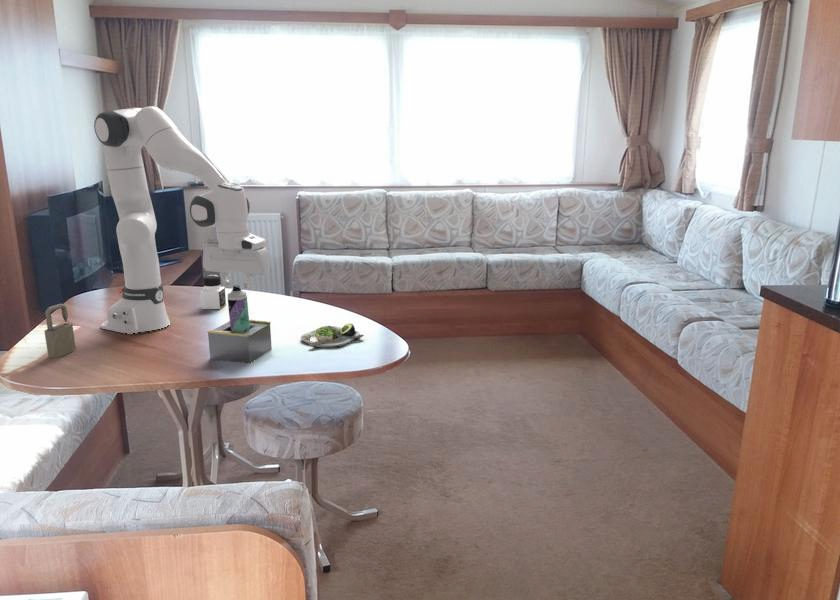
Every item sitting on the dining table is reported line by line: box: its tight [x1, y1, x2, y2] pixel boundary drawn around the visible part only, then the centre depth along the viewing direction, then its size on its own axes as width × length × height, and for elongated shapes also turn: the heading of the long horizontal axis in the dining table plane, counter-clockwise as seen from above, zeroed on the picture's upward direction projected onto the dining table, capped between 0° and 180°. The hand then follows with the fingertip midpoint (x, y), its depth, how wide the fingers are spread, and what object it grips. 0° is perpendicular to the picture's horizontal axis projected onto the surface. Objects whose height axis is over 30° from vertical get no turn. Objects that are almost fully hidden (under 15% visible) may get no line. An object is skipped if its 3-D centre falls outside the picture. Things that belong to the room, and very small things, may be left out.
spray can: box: [227, 284, 250, 333], centre depth 196 cm, size 6×6×20 cm
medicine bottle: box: [199, 274, 227, 311], centre depth 247 cm, size 7×7×12 cm
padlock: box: [43, 303, 77, 359], centre depth 198 cm, size 4×8×15 cm, turn 163°
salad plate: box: [300, 323, 365, 348], centre depth 211 cm, size 19×18×5 cm
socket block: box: [207, 319, 273, 364], centre depth 199 cm, size 13×13×9 cm
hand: (237, 287), depth 194 cm, fingers open, 5 cm apart
